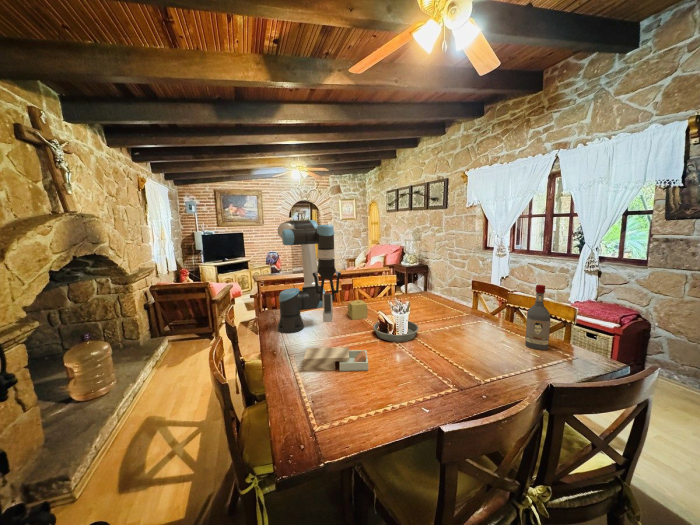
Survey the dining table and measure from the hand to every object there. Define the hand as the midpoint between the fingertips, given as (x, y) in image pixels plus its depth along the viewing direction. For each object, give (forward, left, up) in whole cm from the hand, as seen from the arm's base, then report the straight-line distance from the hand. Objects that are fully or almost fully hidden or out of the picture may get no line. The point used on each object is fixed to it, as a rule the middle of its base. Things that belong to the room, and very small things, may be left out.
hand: (327, 307), depth 137 cm
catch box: (+12, -13, -22) cm, 28 cm away
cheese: (+16, +50, -22) cm, 56 cm away
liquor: (+101, 0, -22) cm, 103 cm away
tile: (+14, -14, -18) cm, 27 cm away
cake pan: (+36, +20, -22) cm, 46 cm away
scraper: (0, 0, -5) cm, 5 cm away
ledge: (0, -13, -22) cm, 26 cm away
